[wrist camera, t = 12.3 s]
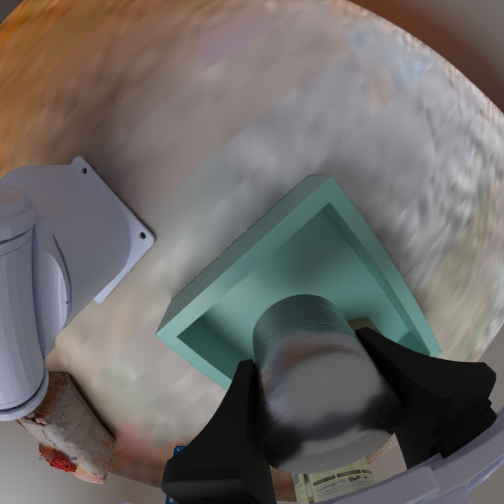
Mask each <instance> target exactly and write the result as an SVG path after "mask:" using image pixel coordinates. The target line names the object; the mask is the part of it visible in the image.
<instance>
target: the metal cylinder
mask: <svg viewBox="0 0 504 504" xmlns="http://www.w3.org/2000/svg"><path fill="white" fill-rule="evenodd" d="M252 342H253V353H254V364H255V375H256V385H257V396H258V406H259V416H260V426H261V437H262V446H263V455H264V458H265V460H266V461H267V463H268V464H270V465H271V466H272V467H274V468H276V469H278V470H281V471H284V472H288V473H295V474H312V473H321V472H326V471H331V470H334V469H338V468H341V467H344V466H347V465H349V464H352V463H354V462H356V461H358V460H360V459H362V458H364V457H366V456H367V455H369V454H371V453H372V452H373V451H375V450H376V449H378V448H379V447H380V446H381V445H383V444H384V443H385V442H386V441H387V440H388V439H389V438H390V437H391V436H392V435H393V433H394V432H395V431H396V429H397V428H398V426H399V424H400V422H401V420H402V416H403V406H402V404H401V402H400V400H399V399H398V397H397V395H396V394H395V392H394V391H393V389H392V388H391V386H390V385H389V383H388V382H387V380H386V379H385V377H384V375H383V374H382V372H381V371H380V369H379V368H378V366H377V365H376V363H375V362H374V360H373V359H372V357H371V356H370V354H369V353H368V352H367V350H366V349H365V347H364V346H363V344H362V343H361V341H360V340H359V338H358V337H357V335H356V334H355V333H354V331H353V330H352V328H351V327H350V325H349V324H348V322H347V321H346V320H345V318H344V317H343V315H342V314H341V312H340V311H339V310H338V308H337V307H336V306H335V305H334V304H333V303H332V302H330V301H329V300H327V299H325V298H323V297H320V296H317V295H311V294H300V295H294V296H290V297H287V298H284V299H282V300H280V301H278V302H276V303H274V304H273V305H271V306H270V307H269V308H268V309H266V310H265V311H264V313H263V314H262V315H261V316H260V318H259V319H258V321H257V322H256V324H255V327H254V330H253V335H252Z"/></svg>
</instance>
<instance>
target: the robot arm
mask: <svg viewBox="0 0 504 504" xmlns="http://www.w3.org/2000/svg"><path fill="white" fill-rule="evenodd" d="M85 168H86V169H87V173H86V174H85V173H84V170H85ZM142 232H144V233H145V234H146V238H143V237H142V236H141V233H142ZM154 243H155V237H154V236H153V234H152V233H151V232H150V231H149V230H148V229H147V228H146V227H145V226H144V225H143V224H142V223H141V222H140V221H139V220H138V219H137V217H136V216H135V215H134V214H133V213H132V212H131V211H130V210H129V209H128V208H127V207H126V206H125V205H124V203H123V202H122V201H121V200H120V199H119V198H118V197H117V196H116V195H115V194H114V192H113V191H112V190H111V189H110V188H109V187H108V186H107V185H106V183H105V182H104V181H103V180H102V179H101V178H100V177H99V176H98V174H97V173H96V172H95V171H94V170H93V169H92V167H91V166H90V165H89V164H88V163H87V162H86V160H85V159H84V158H83V157H81V156H77V157H76V158H74V160H73V161H72V163H71V164H70V165H30V166H22V167H19V168H17V169H15V170H13V171H11V172H9V173H8V174H6V175H5V176H3V177H2V178H1V179H0V421H10V420H15V419H19V418H21V417H23V416H25V415H27V414H29V413H30V412H32V411H33V410H34V409H35V408H36V407H37V406H38V405H39V404H40V403H41V401H42V400H43V398H44V396H45V394H46V392H47V388H48V380H49V375H48V369H47V366H46V362H45V359H44V358H46V357H47V356H48V354H49V353H50V352H51V351H52V350H53V349H54V348H55V339H56V336H57V335H58V334H59V333H60V332H61V331H62V330H63V329H64V328H65V327H66V326H67V325H68V324H69V323H70V322H71V321H72V319H73V318H74V317H75V316H76V315H77V314H78V313H79V312H80V311H81V310H82V309H83V308H84V307H85V306H86V305H87V304H88V303H89V302H90V301H92V300H93V299H94V300H95V301H96V302H97V303H102V302H103V301H104V300H105V299H106V298H107V297H108V295H109V294H110V293H111V292H112V291H113V289H114V288H115V287H116V286H117V285H118V284H119V282H120V281H121V280H122V279H123V278H124V277H125V275H126V274H127V273H128V272H129V271H130V270H131V269H132V268H133V266H134V265H135V264H136V263H137V262H138V261H139V260H140V259H141V257H142V256H143V255H144V254H145V253H146V252H147V251H148V250H149V249H150V248H151V247H152V245H153V244H154ZM355 334H356V335H357V337H358V338H359V340H360V341H361V343H362V344H363V346H364V347H365V349H366V350H367V352H368V353H369V354H370V356H371V357H372V359H373V360H374V362H375V363H376V365H377V366H378V368H379V369H380V371H381V372H382V374H383V375H384V377H385V379H386V380H387V382H388V383H389V385H390V386H391V388H392V389H393V391H394V392H395V394H396V395H397V397H398V399H399V400H400V402H401V404H402V406H403V416H402V420H401V422H400V424H399V426H398V428H397V429H396V431H395V435H396V437H397V440H398V443H399V445H400V448H401V451H402V454H403V457H404V460H405V463H406V467H407V470H406V471H404V472H402V473H400V474H397V475H396V476H393V477H391V478H388V479H386V480H384V481H381V482H379V483H376V484H374V485H371V486H369V487H366V488H363V489H360V490H357V491H354V492H351V493H348V494H345V495H342V496H339V497H335V498H332V499H328V500H324V501H320V502H316V503H312V504H473V503H472V501H471V499H470V497H469V495H468V494H467V493H468V492H470V491H471V490H472V489H474V488H475V487H476V486H477V485H479V484H480V483H481V482H482V481H484V480H485V479H486V478H487V477H488V476H490V475H491V474H492V473H493V472H494V471H496V470H497V469H498V468H499V467H500V466H501V465H502V464H503V463H504V406H503V407H502V408H501V409H500V410H499V411H498V412H496V413H495V412H494V411H493V410H492V409H491V407H490V406H491V404H492V403H491V401H490V400H489V399H488V398H489V396H490V393H491V391H492V389H493V387H494V384H495V381H496V373H495V372H494V371H493V370H492V369H491V368H490V367H489V366H488V365H487V364H485V363H484V362H458V361H450V360H444V359H440V358H435V357H431V356H428V355H425V354H422V353H419V352H416V351H413V350H411V349H409V348H406V347H404V346H402V345H400V344H398V343H396V342H394V341H392V340H390V339H388V338H386V337H385V336H383V335H381V334H379V333H377V332H376V331H374V330H372V329H371V328H369V327H367V326H366V327H363V328H360V329H357V330H355ZM161 488H162V490H163V492H165V494H166V495H168V496H169V497H170V498H172V499H173V500H174V501H176V502H177V503H179V504H277V503H276V498H275V493H274V488H273V482H272V477H271V471H270V465H269V464H268V463H267V461H266V460H265V458H264V455H263V446H262V437H261V426H260V416H259V406H258V396H257V385H256V375H255V365H254V362H253V359H248V360H244V361H240V362H239V363H238V366H237V369H236V372H235V374H234V377H233V379H232V382H231V384H230V386H229V389H228V391H227V393H226V395H225V397H224V399H223V400H222V402H221V404H220V406H219V408H218V409H217V411H216V412H215V414H214V415H213V417H212V418H211V420H210V421H209V422H208V424H207V425H206V426H205V427H204V429H203V430H202V431H201V432H200V433H199V434H198V435H197V436H196V437H195V438H194V439H193V440H192V441H191V442H190V443H189V444H188V445H187V446H186V447H185V448H184V449H183V450H181V451H180V452H179V453H177V454H176V455H175V456H173V457H172V458H171V459H169V460H168V461H167V464H166V466H165V469H164V473H163V479H162V485H161ZM121 504H133V503H127V502H121Z"/></svg>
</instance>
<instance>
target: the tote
mask: <svg viewBox="0 0 504 504" xmlns="http://www.w3.org/2000/svg"><path fill="white" fill-rule="evenodd" d="M300 294H311V295H317V296H320V297H323V298H325V299H327V300H329V301H330V302H332V303H333V304H334V305H335V306H336V307H337V308H338V310H339V311H340V312H341V314H342V315H343V317H344V318H345V320H346V321H348V320H354V319H360V318H366V317H368V318H369V319H370V320H371V321H372V323H373V324H374V325H375V326H376V327H377V329H378V330H379V331H380V332H381V333H382V335H383V336H385V337H386V338H388V339H390V340H392V341H394V342H396V343H398V344H400V345H402V346H404V347H406V348H409V349H411V350H413V351H416V352H419V353H422V354H425V355H428V356H431V357H435V358H436V357H437V356H438V355H439V354H440V353H441V352H442V351H441V349H440V346H439V344H438V342H437V340H436V338H435V336H434V334H433V332H432V330H431V328H430V326H429V324H428V322H427V320H426V318H425V317H424V315H423V313H422V311H421V309H420V307H419V305H418V304H417V302H416V300H415V298H414V296H413V295H412V293H411V291H410V289H409V288H408V286H407V284H406V283H405V281H404V279H403V278H402V276H401V274H400V273H399V271H398V269H397V268H396V266H395V264H394V263H393V261H392V260H391V258H390V256H389V255H388V253H387V252H386V250H385V249H384V247H383V246H382V244H381V243H380V241H379V240H378V238H377V237H376V235H375V234H374V232H373V231H372V229H371V228H370V227H369V225H368V224H367V222H366V221H365V219H364V218H363V217H362V215H361V214H360V212H359V211H358V210H357V208H356V207H355V206H354V204H353V203H352V202H351V200H350V199H349V198H348V196H347V195H346V194H345V192H344V191H343V190H342V188H341V187H340V186H339V184H338V183H337V182H336V181H335V179H334V178H333V177H332V176H314V175H308V176H307V177H306V178H305V179H304V180H303V181H302V182H300V183H299V184H298V185H297V186H296V187H295V188H294V189H293V190H291V191H290V192H289V193H288V194H287V195H286V196H285V197H284V198H282V199H281V200H280V201H279V202H278V203H277V204H276V205H275V206H273V207H272V208H271V209H270V210H269V211H268V212H267V213H266V214H265V215H263V216H262V217H261V218H260V219H259V220H258V221H257V222H256V223H255V224H254V225H252V226H251V227H250V228H249V229H248V230H247V231H246V232H245V233H244V234H243V235H241V236H240V237H239V238H238V239H237V240H236V241H235V242H234V243H233V244H232V245H231V246H229V247H228V248H227V249H226V250H225V251H224V252H223V253H222V254H221V255H220V256H219V257H218V258H216V259H215V260H214V261H213V262H212V263H211V264H210V265H209V266H208V267H207V268H206V269H205V270H203V271H202V272H201V273H200V274H199V275H198V276H197V277H196V278H195V279H194V280H193V281H192V282H191V283H190V284H189V285H187V286H186V287H185V288H184V289H183V290H182V291H181V292H180V293H179V294H178V295H177V296H176V297H175V298H174V299H173V300H172V301H171V302H170V304H169V306H168V308H167V310H166V312H165V315H164V317H163V319H162V321H161V323H160V325H159V327H158V329H157V331H156V333H155V335H156V336H157V337H158V338H159V339H160V340H161V341H163V342H164V343H165V344H166V345H167V346H169V347H170V348H171V349H172V350H173V351H175V352H176V353H177V354H178V355H180V356H181V357H182V358H183V359H185V360H186V361H187V362H189V363H190V364H191V365H192V366H194V367H195V368H196V369H198V370H199V371H200V372H202V373H203V374H204V375H206V376H207V377H208V378H210V379H211V380H213V381H214V382H215V383H217V384H218V385H220V386H221V387H222V388H224V389H225V390H227V391H228V389H229V386H230V384H231V382H232V379H233V377H234V374H235V372H236V369H237V366H238V363H239V362H240V361H244V360H248V359H253V362H254V353H253V342H252V335H253V330H254V327H255V324H256V322H257V321H258V319H259V318H260V316H261V315H262V314H263V313H264V311H265V310H266V309H268V308H269V307H270V306H271V305H273V304H274V303H276V302H278V301H280V300H282V299H284V298H287V297H290V296H294V295H300ZM254 365H255V364H254Z"/></svg>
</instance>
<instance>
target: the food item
mask: <svg viewBox="0 0 504 504" xmlns="http://www.w3.org/2000/svg"><path fill="white" fill-rule="evenodd" d="M48 375H49V380H48V388H47V392H46V394H45V396H44V398H43V400H42V401H41V403H40V404H39V405H38V406H37V407H36V408H35V409H34V410H33V411H32V412H30V413H29V414H27V415H25V416H23V417H21V418H19V420H20V422H21V423H22V424H23V425H24V426H25V428H26V429H27V430H28V431H29V432H30V434H31V435H32V436H33V437H34V438H35V440H36V441H37V442H38V443H39V449H40V450H39V451H40V452H41V457H40V458H39V460H40V459H41V460H42V459H45V460H46V461H48V462H49V463H50V466H52V467H55V468H58V469H60V468H61V469H62V470H65V471H66V472H68V471H69V472H71V473H72V474H73V475H74V476H76V477H78V478H79V479H81V480H84V481H86V482H92V483H100V484H104V481H105V479H106V476H107V474H108V473H107V471H108V469H109V466H110V464H109V463H110V462H111V461H112V460H111V456H112V451H113V447H114V444H115V441H116V440H115V438H113V437H112V435H111V434H110V433H109V432H108V431H107V430H106V429H105V428H104V426H103V425H102V424H101V423H100V421H99V420H98V419H97V418H96V416H95V415H94V413H93V412H92V411H91V409H90V408H89V406H88V405H87V403H86V401H85V400H84V399H83V397H82V396H81V394H80V393H79V392H78V390H77V388H76V387H75V385H74V383H73V382H72V380H71V378H70V377H69V375H68V374H62V373H60V372H58V373H48Z"/></svg>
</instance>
